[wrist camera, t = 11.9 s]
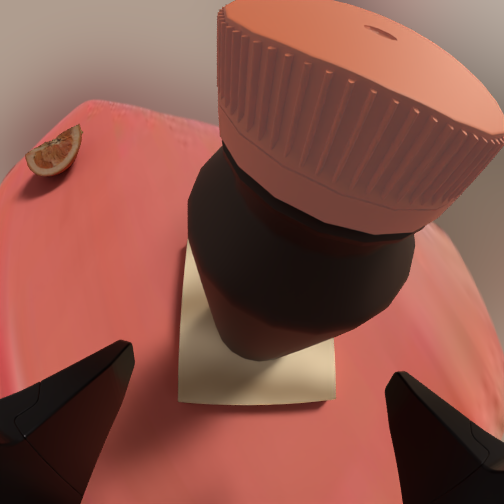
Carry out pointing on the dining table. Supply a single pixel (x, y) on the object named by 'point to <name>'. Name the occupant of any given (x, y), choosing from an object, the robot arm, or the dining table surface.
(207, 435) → the dining table surface
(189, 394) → the napkin
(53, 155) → the fruit slice
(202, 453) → the dining table surface
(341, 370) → the dining table surface
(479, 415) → the dining table surface
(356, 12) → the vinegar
